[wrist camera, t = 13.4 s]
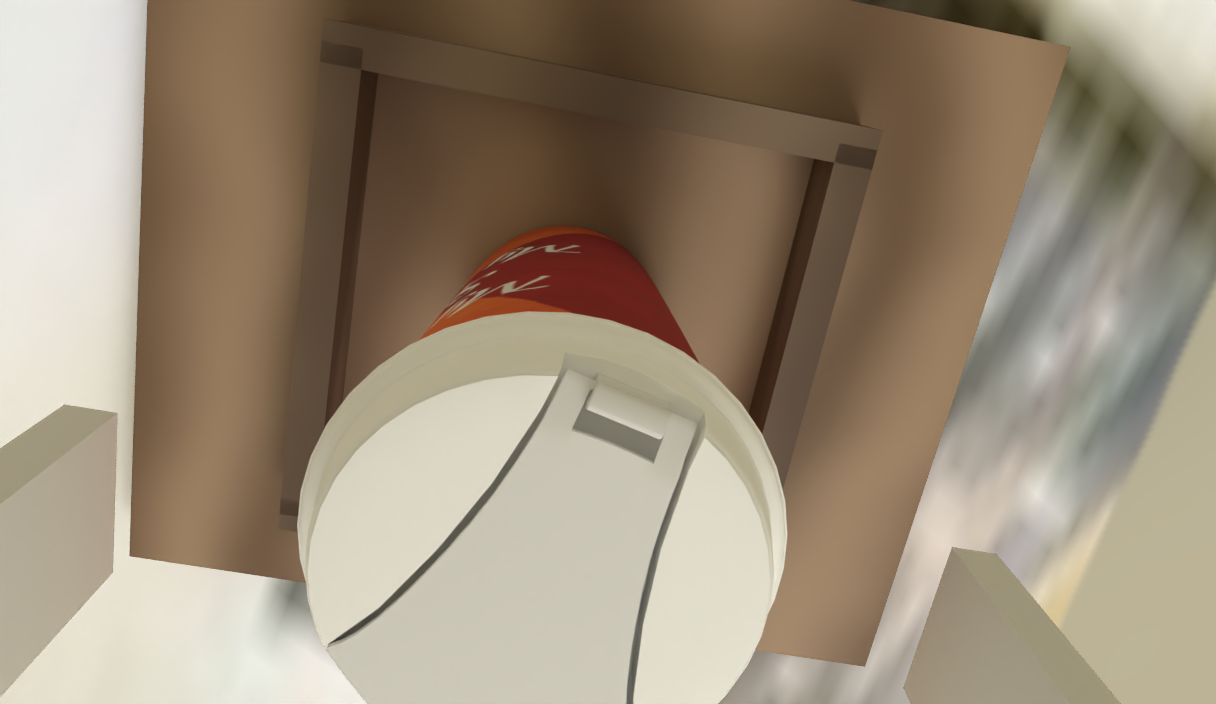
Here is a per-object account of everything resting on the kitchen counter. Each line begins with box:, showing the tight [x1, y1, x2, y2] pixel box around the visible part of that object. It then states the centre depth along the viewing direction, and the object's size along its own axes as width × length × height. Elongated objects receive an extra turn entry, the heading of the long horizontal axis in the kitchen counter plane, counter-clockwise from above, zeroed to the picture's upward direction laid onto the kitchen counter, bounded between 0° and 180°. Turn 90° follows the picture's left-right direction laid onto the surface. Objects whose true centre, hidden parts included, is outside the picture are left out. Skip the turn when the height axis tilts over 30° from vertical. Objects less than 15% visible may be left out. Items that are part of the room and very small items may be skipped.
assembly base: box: [130, 0, 1070, 666], centre depth 26 cm, size 24×20×4 cm
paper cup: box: [297, 226, 787, 704], centre depth 20 cm, size 8×8×14 cm
